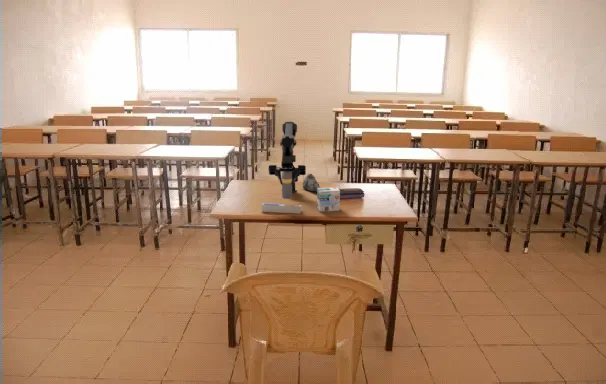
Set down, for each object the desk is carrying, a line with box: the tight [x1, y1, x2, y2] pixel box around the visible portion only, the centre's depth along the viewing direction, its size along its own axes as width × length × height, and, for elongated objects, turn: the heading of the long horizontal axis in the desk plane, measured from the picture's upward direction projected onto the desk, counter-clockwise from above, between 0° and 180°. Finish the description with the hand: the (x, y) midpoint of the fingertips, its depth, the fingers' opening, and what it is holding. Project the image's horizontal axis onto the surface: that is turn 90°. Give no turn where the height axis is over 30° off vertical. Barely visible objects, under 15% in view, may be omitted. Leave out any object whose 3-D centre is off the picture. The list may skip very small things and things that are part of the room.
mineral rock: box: [302, 173, 321, 192], centre depth 265 cm, size 13×11×10 cm
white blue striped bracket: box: [261, 202, 303, 214], centre depth 229 cm, size 20×4×4 cm, turn 83°
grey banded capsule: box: [281, 171, 293, 200], centre depth 229 cm, size 5×5×13 cm
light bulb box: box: [316, 186, 341, 212], centre depth 232 cm, size 11×7×11 cm, turn 101°
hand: (286, 184), depth 228 cm, fingers closed on grey banded capsule, 5 cm apart
